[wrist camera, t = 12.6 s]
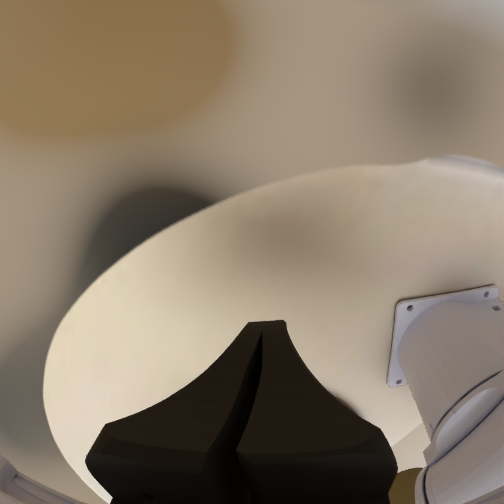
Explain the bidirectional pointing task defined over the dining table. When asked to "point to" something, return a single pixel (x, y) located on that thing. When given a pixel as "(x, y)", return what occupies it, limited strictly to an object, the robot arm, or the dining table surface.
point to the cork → (404, 487)
